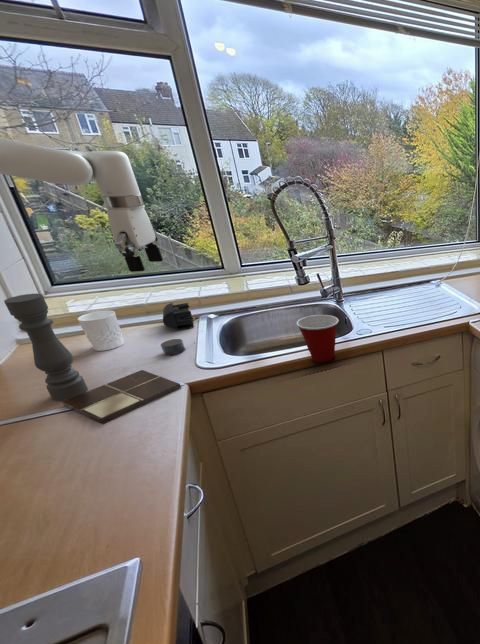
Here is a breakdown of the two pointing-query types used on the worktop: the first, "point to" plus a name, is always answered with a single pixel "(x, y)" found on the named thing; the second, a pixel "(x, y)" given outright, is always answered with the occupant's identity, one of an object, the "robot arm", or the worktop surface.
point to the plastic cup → (319, 336)
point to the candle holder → (47, 346)
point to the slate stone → (173, 347)
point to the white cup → (102, 329)
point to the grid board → (121, 396)
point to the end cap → (177, 316)
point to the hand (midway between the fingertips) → (147, 266)
